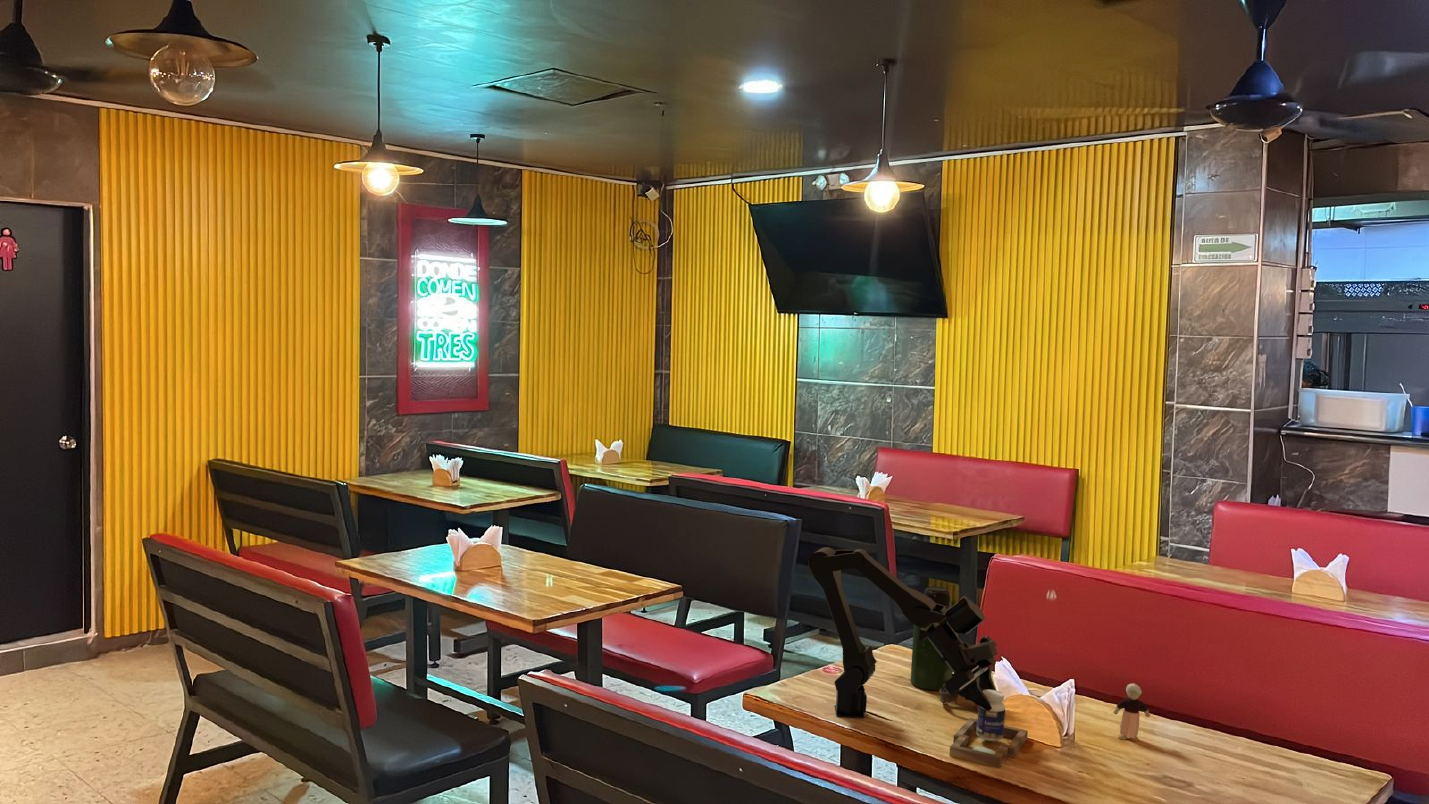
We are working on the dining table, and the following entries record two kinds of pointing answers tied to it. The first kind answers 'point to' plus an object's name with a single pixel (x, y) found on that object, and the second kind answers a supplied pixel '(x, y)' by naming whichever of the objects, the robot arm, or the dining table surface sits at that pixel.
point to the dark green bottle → (929, 651)
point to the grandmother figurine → (1131, 713)
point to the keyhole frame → (986, 754)
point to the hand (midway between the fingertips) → (994, 706)
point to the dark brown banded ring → (950, 697)
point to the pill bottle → (991, 717)
